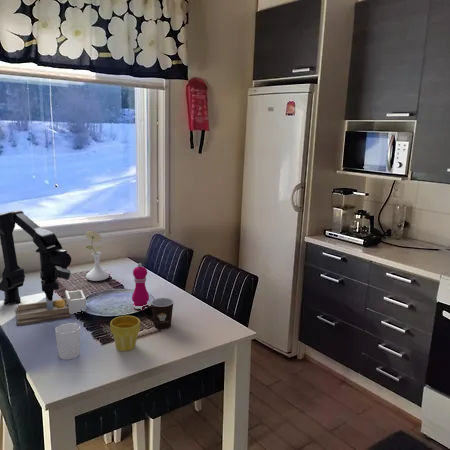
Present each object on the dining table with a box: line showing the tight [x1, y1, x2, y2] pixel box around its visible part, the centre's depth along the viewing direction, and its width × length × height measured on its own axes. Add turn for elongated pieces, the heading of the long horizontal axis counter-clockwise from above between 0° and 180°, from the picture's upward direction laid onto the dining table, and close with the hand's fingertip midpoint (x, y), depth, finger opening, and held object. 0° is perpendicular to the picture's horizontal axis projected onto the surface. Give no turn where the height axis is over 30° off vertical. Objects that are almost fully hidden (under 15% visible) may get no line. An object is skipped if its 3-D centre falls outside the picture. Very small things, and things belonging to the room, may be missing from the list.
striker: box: [45, 295, 54, 310], centre depth 184 cm, size 7×2×8 cm, turn 26°
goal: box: [64, 289, 87, 315], centre depth 188 cm, size 11×7×7 cm, turn 26°
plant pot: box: [109, 315, 141, 352], centre depth 157 cm, size 10×10×10 cm
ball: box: [55, 298, 65, 308], centre depth 186 cm, size 4×4×4 cm
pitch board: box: [16, 298, 71, 327], centre depth 183 cm, size 17×20×3 cm
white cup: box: [54, 322, 81, 361], centre depth 150 cm, size 8×8×10 cm
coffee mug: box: [141, 297, 174, 331], centre depth 174 cm, size 12×9×10 cm
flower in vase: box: [85, 230, 110, 282], centre depth 223 cm, size 13×11×25 cm
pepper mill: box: [131, 262, 150, 306], centre depth 190 cm, size 7×7×20 cm
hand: (50, 299), depth 184 cm, fingers open, 2 cm apart
